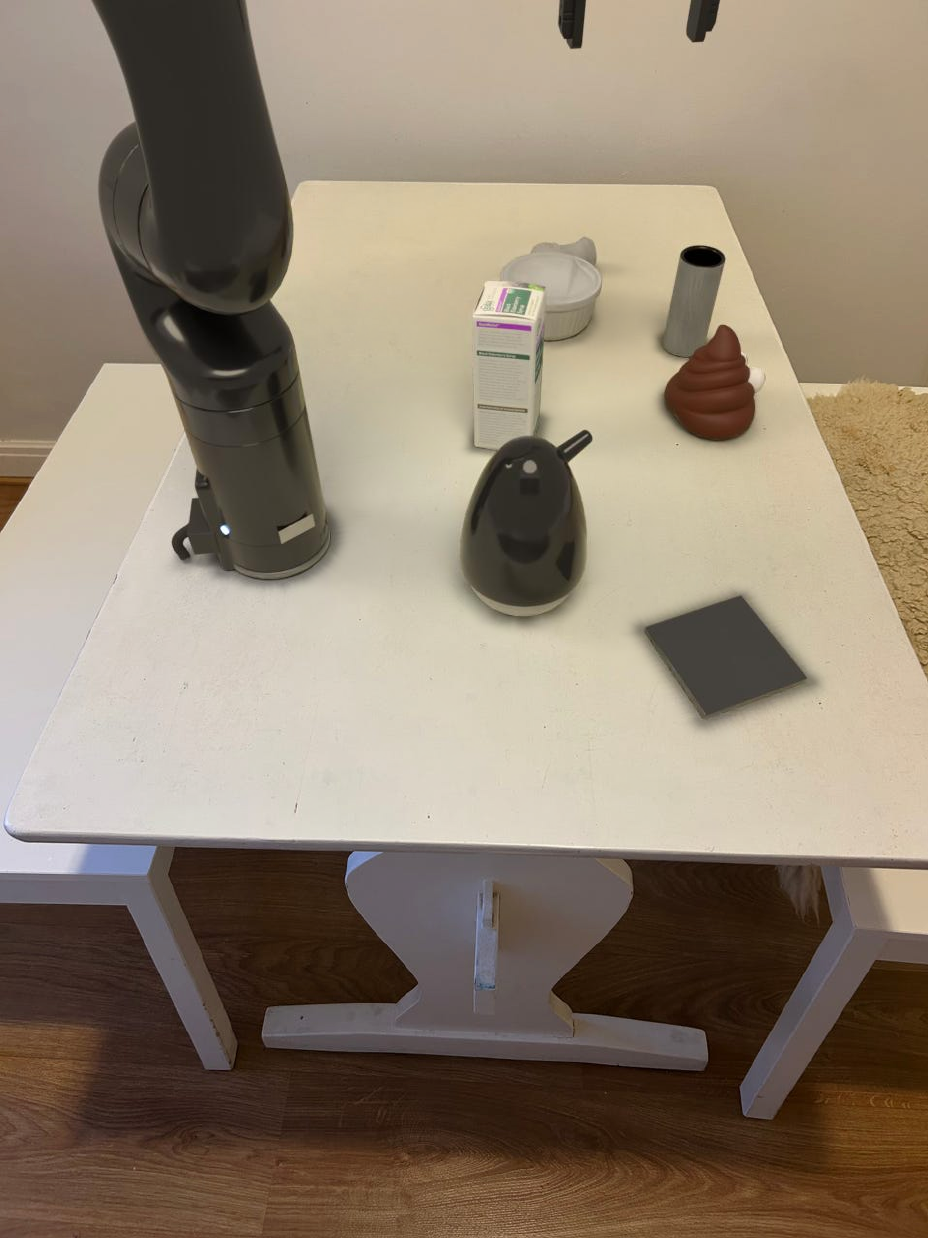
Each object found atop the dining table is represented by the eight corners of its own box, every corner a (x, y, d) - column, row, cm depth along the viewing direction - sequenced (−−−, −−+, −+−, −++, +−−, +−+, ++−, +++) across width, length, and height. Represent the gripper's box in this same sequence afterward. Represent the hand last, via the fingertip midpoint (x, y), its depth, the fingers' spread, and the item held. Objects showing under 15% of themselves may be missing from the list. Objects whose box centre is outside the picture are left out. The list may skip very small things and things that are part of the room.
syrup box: (531, 455, 81) (540, 319, 70) (471, 447, 82) (471, 311, 70) (539, 419, 84) (550, 283, 73) (482, 412, 85) (484, 277, 74)
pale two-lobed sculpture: (531, 292, 102) (526, 260, 104) (596, 288, 102) (590, 256, 104) (533, 266, 98) (528, 232, 100) (601, 261, 98) (595, 228, 100)
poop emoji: (646, 393, 87) (662, 311, 80) (717, 376, 89) (739, 294, 82) (696, 452, 81) (718, 369, 74) (771, 432, 83) (800, 349, 76)
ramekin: (614, 334, 94) (620, 290, 90) (523, 356, 91) (525, 312, 87) (569, 286, 101) (574, 243, 96) (483, 305, 98) (484, 261, 94)
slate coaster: (704, 720, 62) (705, 715, 61) (643, 631, 67) (645, 626, 67) (805, 682, 64) (808, 677, 63) (739, 599, 69) (741, 594, 69)
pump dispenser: (607, 604, 69) (636, 460, 57) (500, 654, 66) (506, 514, 54) (540, 528, 75) (553, 383, 63) (438, 571, 71) (431, 427, 60)
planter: (699, 333, 94) (720, 243, 86) (707, 357, 91) (730, 266, 83) (658, 334, 94) (676, 244, 86) (666, 358, 91) (685, 267, 83)
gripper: (782, -316, 48) (717, 20, 61) (537, -311, 47) (523, 29, 60) (833, -305, 43) (751, 56, 56) (562, -300, 42) (541, 66, 55)
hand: (633, 41), depth 58 cm, fingers open, 8 cm apart
